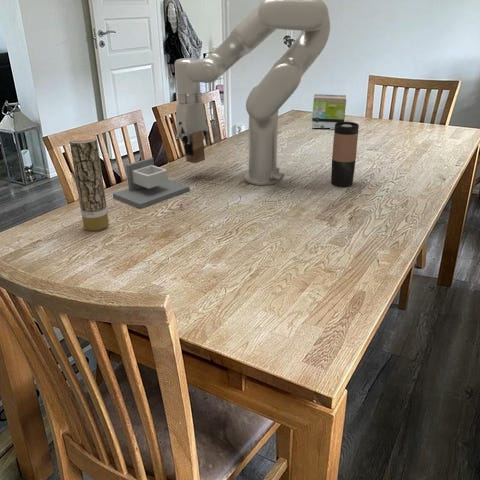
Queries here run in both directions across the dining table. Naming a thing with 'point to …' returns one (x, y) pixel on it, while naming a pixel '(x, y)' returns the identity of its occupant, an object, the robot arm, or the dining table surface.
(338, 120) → the tea box
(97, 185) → the brown bark cylinder
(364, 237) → the dining table surface
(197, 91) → the robot arm
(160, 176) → the bracket stand
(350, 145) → the travel mug
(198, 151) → the rail post
